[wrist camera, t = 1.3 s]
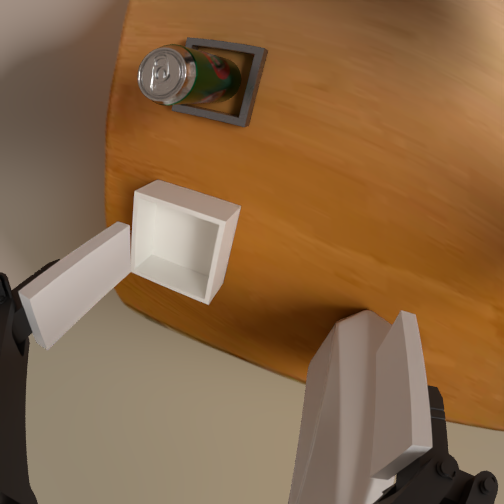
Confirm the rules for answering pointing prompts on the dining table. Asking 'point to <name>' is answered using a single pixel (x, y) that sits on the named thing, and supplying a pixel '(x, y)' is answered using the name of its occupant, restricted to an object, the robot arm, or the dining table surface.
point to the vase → (340, 417)
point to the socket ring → (250, 89)
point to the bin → (182, 238)
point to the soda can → (187, 76)
